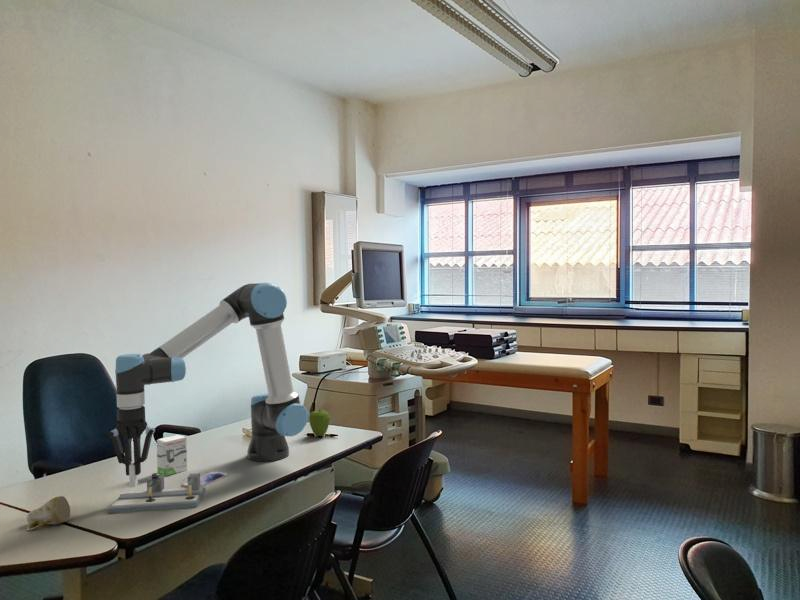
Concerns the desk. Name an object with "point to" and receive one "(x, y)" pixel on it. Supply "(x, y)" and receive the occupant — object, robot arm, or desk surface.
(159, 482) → the sliding leg
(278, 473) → the desk surface
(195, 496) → the board
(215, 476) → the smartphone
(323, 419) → the apple
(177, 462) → the ink box
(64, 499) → the beige tapered chunky piece
